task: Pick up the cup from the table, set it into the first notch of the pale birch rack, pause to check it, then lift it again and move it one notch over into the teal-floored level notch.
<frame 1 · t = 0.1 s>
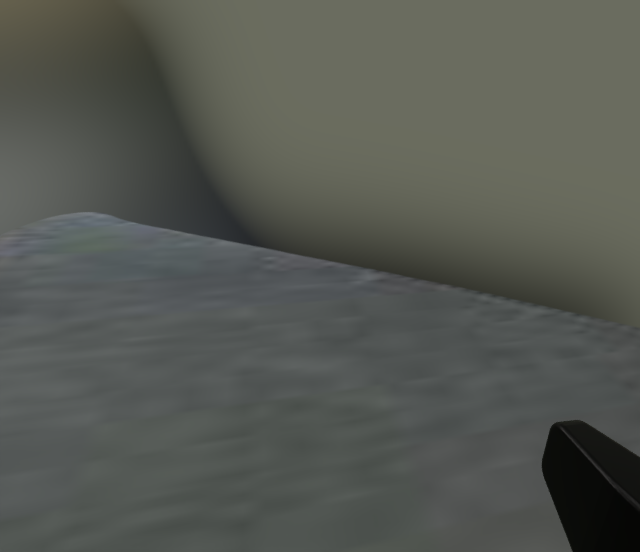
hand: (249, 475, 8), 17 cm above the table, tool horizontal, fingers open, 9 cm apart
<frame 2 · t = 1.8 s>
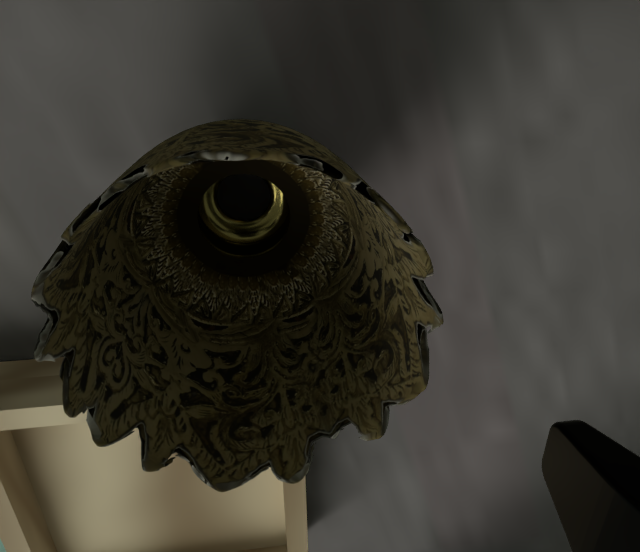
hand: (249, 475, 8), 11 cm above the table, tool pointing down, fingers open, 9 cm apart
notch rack: (33, 475, 22), on the table
cup: (244, 192, 17), on the table
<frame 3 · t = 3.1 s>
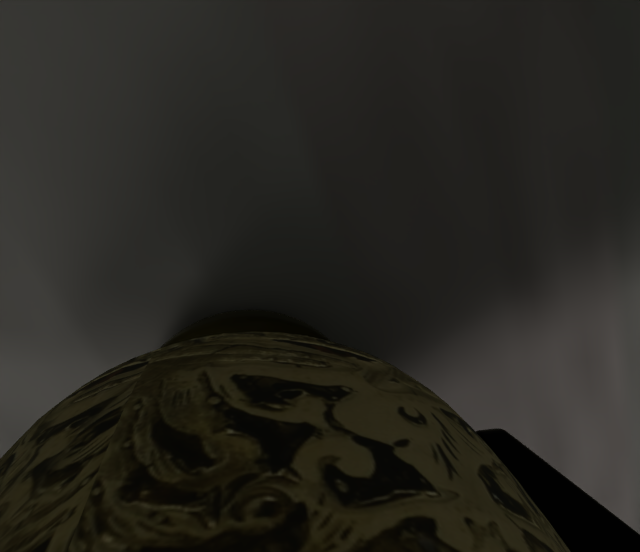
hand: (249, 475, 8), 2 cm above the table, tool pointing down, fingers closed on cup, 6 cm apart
cup: (248, 373, 10), on the table, touching gripper
when the fingers open (4 cm above the table, at t = 7.3 s): cup drops 1 cm, resting on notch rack.
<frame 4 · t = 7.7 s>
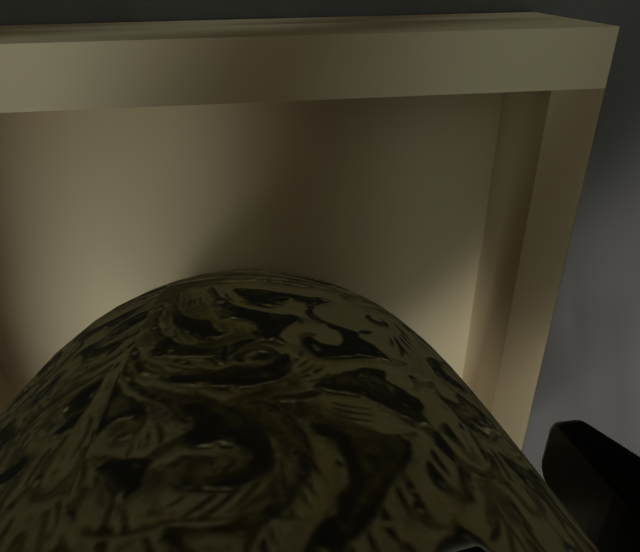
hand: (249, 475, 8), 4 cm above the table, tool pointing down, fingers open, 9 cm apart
cup: (247, 330, 11), point 1 cm above the table, touching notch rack
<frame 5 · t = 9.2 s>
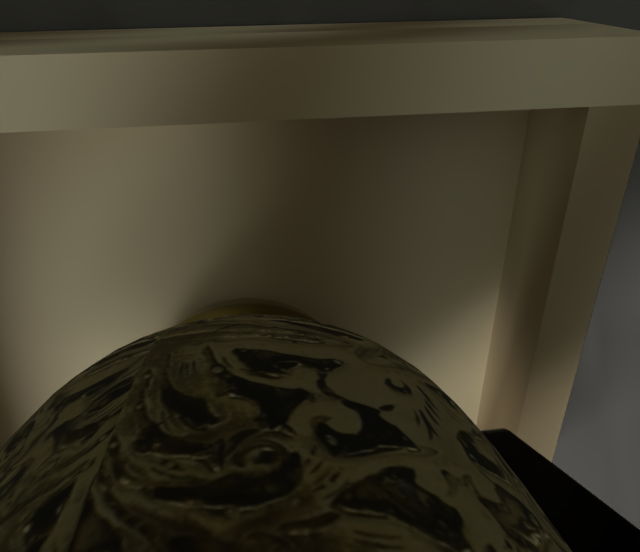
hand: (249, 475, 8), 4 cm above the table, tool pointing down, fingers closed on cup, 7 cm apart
cup: (248, 360, 10), point 1 cm above the table, touching gripper, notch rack
when the fingers open (5 cm above the table, at t = 13.6 s): cup stays where it is, resting on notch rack.
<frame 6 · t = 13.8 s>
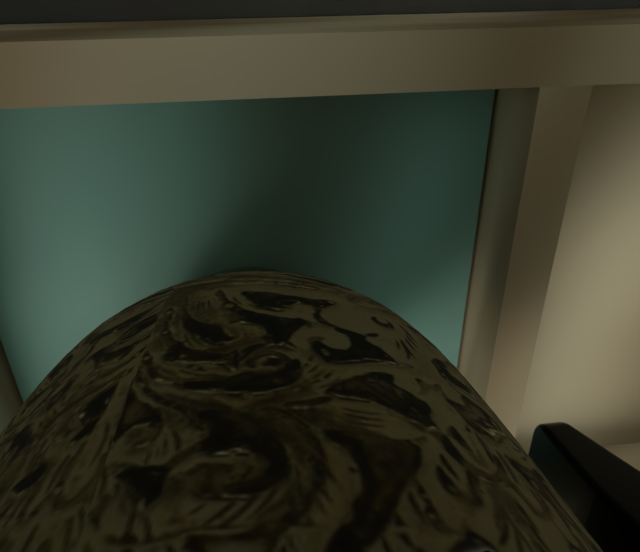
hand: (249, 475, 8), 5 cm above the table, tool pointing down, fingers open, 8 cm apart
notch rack: (467, 281, 13), on the table
cup: (250, 327, 11), point 1 cm above the table, touching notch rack
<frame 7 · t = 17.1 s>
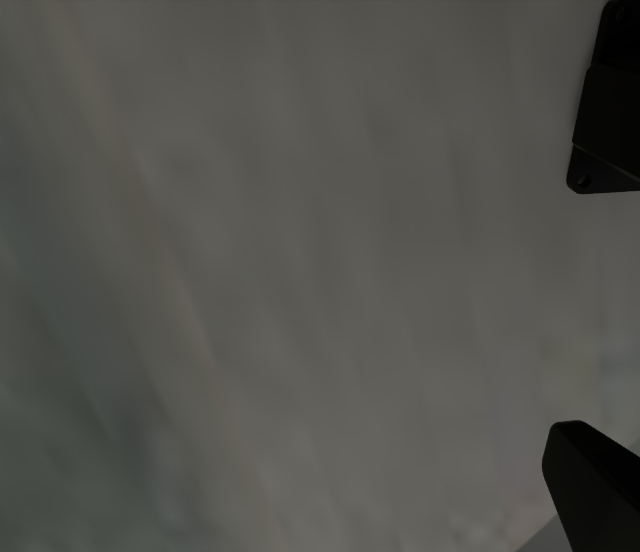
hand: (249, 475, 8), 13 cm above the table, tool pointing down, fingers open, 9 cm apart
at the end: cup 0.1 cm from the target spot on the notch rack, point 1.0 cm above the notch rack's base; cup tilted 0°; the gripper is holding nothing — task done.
